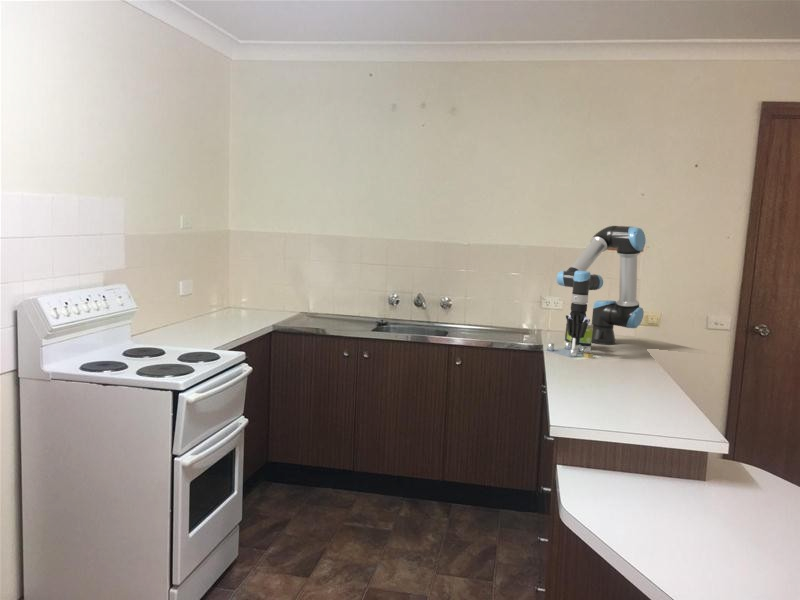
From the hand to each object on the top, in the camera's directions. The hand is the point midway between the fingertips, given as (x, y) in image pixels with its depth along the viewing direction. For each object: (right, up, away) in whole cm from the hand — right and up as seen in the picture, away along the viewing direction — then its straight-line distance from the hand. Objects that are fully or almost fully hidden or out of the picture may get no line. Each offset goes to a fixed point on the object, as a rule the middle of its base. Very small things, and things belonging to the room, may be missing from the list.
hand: (574, 351), depth 323 cm
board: (-1, -2, +1) cm, 3 cm away
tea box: (+6, -1, +19) cm, 20 cm away
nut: (+5, -2, -6) cm, 8 cm away
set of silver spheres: (-2, -1, +2) cm, 3 cm away
